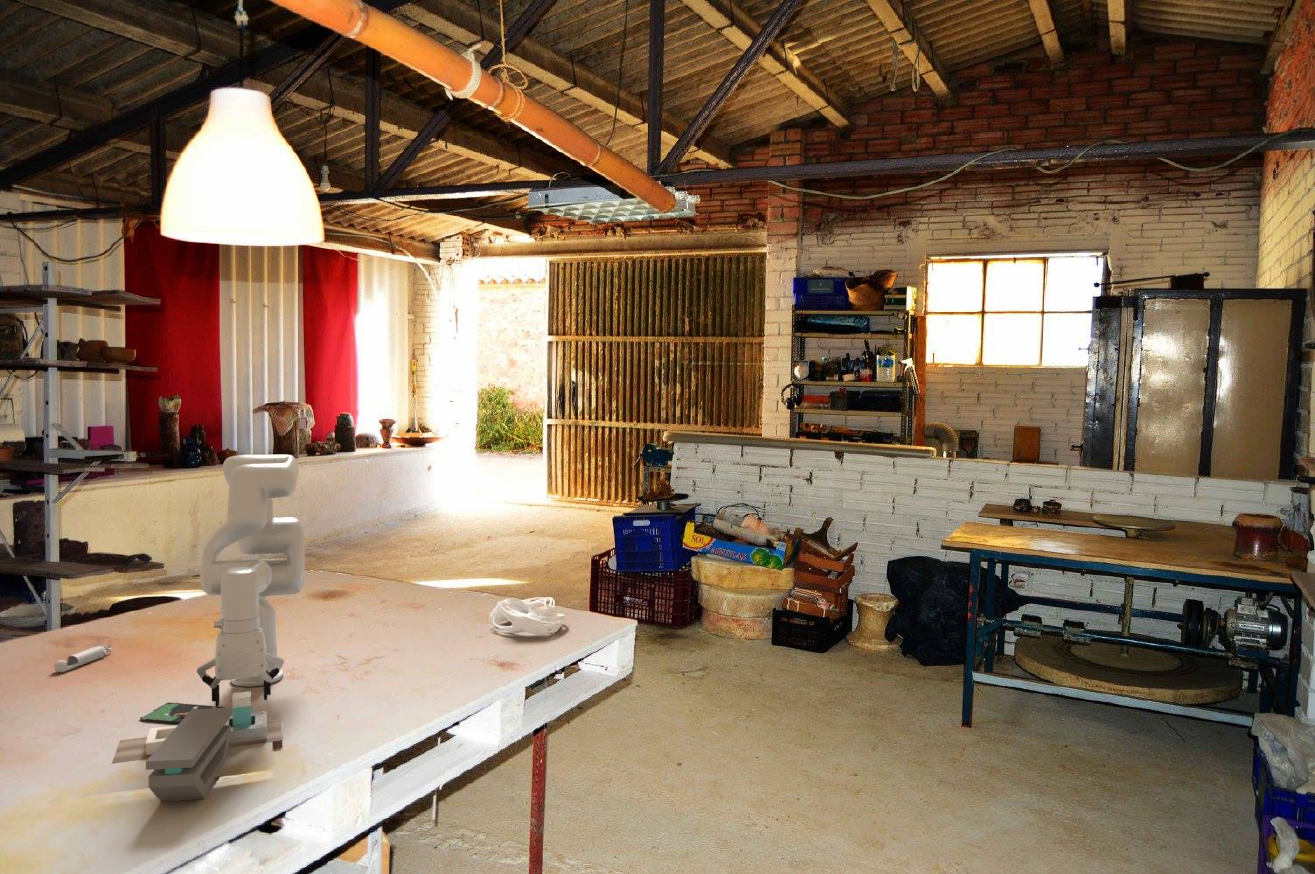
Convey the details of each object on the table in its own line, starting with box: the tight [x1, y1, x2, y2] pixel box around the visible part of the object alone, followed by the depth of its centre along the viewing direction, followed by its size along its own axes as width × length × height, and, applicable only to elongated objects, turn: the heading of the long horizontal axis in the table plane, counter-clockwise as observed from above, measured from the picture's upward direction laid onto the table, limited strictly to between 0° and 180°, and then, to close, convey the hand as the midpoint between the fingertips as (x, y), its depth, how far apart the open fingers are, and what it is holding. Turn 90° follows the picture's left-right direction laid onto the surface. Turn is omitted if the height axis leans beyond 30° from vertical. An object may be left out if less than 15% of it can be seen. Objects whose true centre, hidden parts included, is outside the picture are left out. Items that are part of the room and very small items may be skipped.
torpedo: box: [53, 634, 114, 674], centre depth 246 cm, size 18×5×7 cm, turn 169°
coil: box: [488, 596, 567, 637], centre depth 289 cm, size 25×24×9 cm
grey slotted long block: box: [145, 707, 233, 802], centre depth 177 cm, size 25×8×11 cm, turn 10°
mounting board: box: [111, 719, 283, 764], centre depth 195 cm, size 12×32×2 cm, turn 114°
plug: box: [231, 690, 252, 727], centre depth 198 cm, size 4×4×9 cm
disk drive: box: [138, 702, 226, 725], centre depth 209 cm, size 10×3×15 cm
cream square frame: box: [146, 724, 178, 755], centre depth 193 cm, size 8×8×2 cm
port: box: [225, 710, 268, 745], centre depth 198 cm, size 10×10×3 cm
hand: (241, 701), depth 198 cm, fingers open, 9 cm apart
